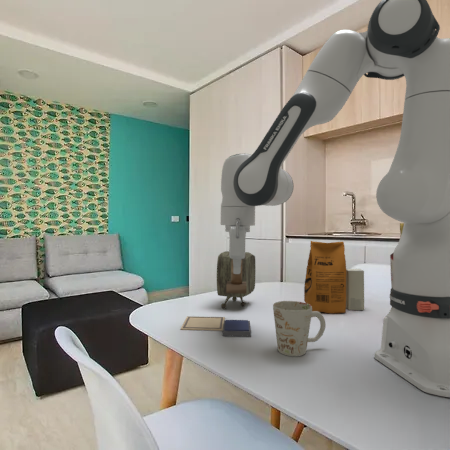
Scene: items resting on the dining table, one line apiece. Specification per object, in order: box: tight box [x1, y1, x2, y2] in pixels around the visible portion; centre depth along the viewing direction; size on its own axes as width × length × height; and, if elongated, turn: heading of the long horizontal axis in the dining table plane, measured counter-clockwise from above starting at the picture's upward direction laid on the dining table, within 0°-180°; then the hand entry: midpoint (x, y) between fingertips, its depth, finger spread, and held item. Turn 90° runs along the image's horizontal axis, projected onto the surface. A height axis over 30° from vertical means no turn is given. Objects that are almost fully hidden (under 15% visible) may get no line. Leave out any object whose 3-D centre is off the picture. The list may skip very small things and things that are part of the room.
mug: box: [272, 300, 326, 357], centre depth 74 cm, size 8×13×10 cm, turn 111°
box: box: [346, 268, 365, 311], centre depth 109 cm, size 5×4×13 cm
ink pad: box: [221, 319, 252, 338], centre depth 86 cm, size 9×7×2 cm
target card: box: [180, 315, 226, 331], centre depth 91 cm, size 11×11×1 cm
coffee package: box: [303, 240, 347, 315], centre depth 107 cm, size 10×12×22 cm
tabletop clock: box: [216, 250, 256, 309], centre depth 111 cm, size 14×9×25 cm, turn 160°
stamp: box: [226, 260, 246, 294], centre depth 86 cm, size 5×5×8 cm
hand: (236, 272), depth 86 cm, fingers closed on stamp, 3 cm apart
